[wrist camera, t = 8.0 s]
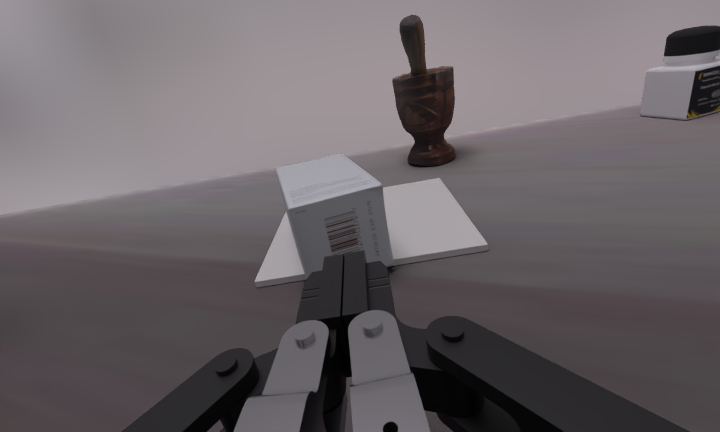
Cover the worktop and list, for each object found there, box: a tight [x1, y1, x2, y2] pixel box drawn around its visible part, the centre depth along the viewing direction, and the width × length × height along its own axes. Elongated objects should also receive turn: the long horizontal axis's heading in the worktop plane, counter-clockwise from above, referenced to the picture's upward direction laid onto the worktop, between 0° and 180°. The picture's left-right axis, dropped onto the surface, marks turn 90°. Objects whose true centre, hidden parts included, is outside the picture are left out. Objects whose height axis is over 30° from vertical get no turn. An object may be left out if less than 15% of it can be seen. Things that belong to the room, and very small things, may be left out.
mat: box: [255, 178, 488, 288], centre depth 38 cm, size 20×18×1 cm
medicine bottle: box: [640, 25, 720, 120], centre depth 52 cm, size 7×7×12 cm
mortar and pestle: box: [392, 15, 455, 166], centre depth 50 cm, size 12×9×20 cm
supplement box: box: [276, 153, 394, 279], centre depth 32 cm, size 7×7×13 cm
